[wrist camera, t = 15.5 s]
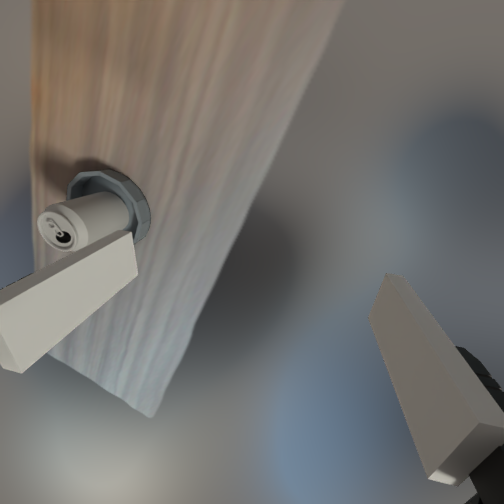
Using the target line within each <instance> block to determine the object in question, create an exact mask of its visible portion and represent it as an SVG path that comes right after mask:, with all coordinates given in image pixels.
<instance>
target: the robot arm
mask: <svg viewBox="0 0 504 504" xmlns="http://www.w3.org/2000/svg"><path fill="white" fill-rule="evenodd" d="M137 275H138V271H137V264H136V258H135V251H134V244H133V238H132V232H130V231H124V230H117V231H115V232H113V233H111V234H109V235H107V236H105V237H103V238H101V239H99V240H97V241H96V242H94V243H92V244H90V245H88V246H86V247H84V248H82V249H80V250H78V251H76V252H74V253H72V254H70V255H68V256H66V257H64V258H62V259H60V260H58V261H56V262H54V263H52V264H50V265H48V266H46V267H44V268H42V269H40V270H39V271H37V272H34V273H32V274H29V275H27V276H26V277H23V278H21V279H20V280H18V281H17V282H14V283H12V284H10V285H8V286H6V287H5V288H2V289H0V364H1V366H2V367H3V368H4V369H7V370H11V371H15V372H19V373H23V372H24V371H25V370H26V369H28V368H29V367H30V366H31V365H32V364H33V363H34V362H36V361H37V360H38V359H39V358H40V357H42V356H43V355H44V354H45V353H46V352H48V351H49V350H50V349H51V348H52V347H53V346H55V345H56V344H57V343H58V342H59V341H61V340H62V339H63V338H64V337H65V336H66V335H68V334H69V333H70V332H71V331H72V330H74V329H75V328H76V327H77V326H78V325H79V324H81V323H82V322H83V321H84V320H85V319H87V318H88V317H89V316H90V315H91V314H92V313H94V312H95V311H96V310H97V309H98V308H100V307H101V306H102V305H103V304H104V303H105V302H107V301H108V300H109V299H110V298H111V297H113V296H114V295H115V294H116V293H117V292H118V291H120V290H121V289H122V288H123V287H124V286H126V285H127V284H128V283H129V282H130V281H131V280H133V279H134V278H135V277H136V276H137ZM368 319H369V322H370V324H371V327H372V330H373V332H374V335H375V338H376V340H377V343H378V346H379V348H380V351H381V354H382V356H383V359H384V362H385V365H386V367H387V370H388V373H389V375H390V378H391V381H392V383H393V386H394V389H395V392H396V394H397V397H398V400H399V402H400V405H401V408H402V410H403V413H404V416H405V418H406V421H407V424H408V426H409V429H410V432H411V435H412V437H413V440H414V443H415V445H416V448H417V451H418V453H419V456H420V459H421V462H422V464H423V467H424V470H425V472H426V475H427V478H428V479H431V480H435V481H438V482H442V483H446V484H450V485H454V486H459V485H460V484H461V483H462V482H463V481H464V480H465V479H466V478H467V477H469V476H470V478H471V480H472V482H473V484H474V486H475V488H476V490H477V492H478V493H476V494H475V495H474V496H473V497H472V498H471V499H469V500H468V501H467V502H466V503H465V504H504V392H502V388H501V387H500V386H499V384H498V383H497V382H496V381H495V379H492V377H491V375H490V373H489V372H488V371H487V370H486V368H485V367H484V366H483V364H482V363H481V362H480V361H479V360H478V359H477V358H475V357H474V356H473V355H472V354H471V353H469V352H468V351H467V350H466V349H465V348H462V347H457V346H454V344H453V343H452V342H451V340H450V339H449V338H448V336H447V335H446V334H445V332H444V331H443V329H442V328H441V327H440V326H439V324H438V323H437V321H436V320H435V319H434V317H433V316H432V314H431V313H430V312H429V310H428V309H427V308H426V306H425V305H424V304H423V302H422V301H421V300H420V298H419V297H418V295H417V294H416V293H415V292H414V290H413V289H412V287H411V286H410V285H409V283H408V282H407V281H406V279H405V278H404V277H403V276H400V275H394V274H387V273H386V275H385V277H384V280H383V282H382V284H381V287H380V289H379V292H378V294H377V297H376V299H375V302H374V304H373V307H372V309H371V312H370V314H369V317H368Z"/></svg>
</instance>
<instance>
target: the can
mask: <svg viewBox="0 0 504 504" xmlns="http://www.w3.org/2000/svg"><path fill="white" fill-rule="evenodd" d="M128 222H129V212H128V210H127V207H126V205H125V204H124V202H123V201H122V200H121V199H120V198H119V197H118V196H117V195H115V194H113V193H111V192H106V191H104V192H99V193H95V194H91V195H87V196H83V197H79V198H75V199H72V200H68V201H64V202H60V203H56V204H52V205H49V206H48V207H47V208H46V209H45V211H44V212H42V213H41V214H40V215H39V217H38V219H37V226H38V230H39V232H40V234H41V236H42V238H43V239H44V240H45V241H46V242H47V243H48V244H49V245H50V246H52V247H53V248H55V249H57V250H59V251H64V252H67V251H78V250H80V249H82V248H84V247H86V246H88V245H90V244H92V243H94V242H96V241H97V240H99V239H101V238H103V237H105V236H107V235H109V234H111V233H113V232H115V231H117V230H122V229H124V228H126V226H127V225H128Z"/></svg>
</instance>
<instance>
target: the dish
mask: <svg viewBox="0 0 504 504" xmlns="http://www.w3.org/2000/svg"><path fill="white" fill-rule="evenodd" d="M104 191H106V192H111V193H113V194H115V195H117V196H118V197H119V198H120V199H121V200H122V201H123V202H124V204H125V205H126V207H127V210H128V212H129V222H128V225H127V226H126V228H124V229H122V230H124V231H130V232H132V238H133V244H136V243H137V242H139V241H140V240H142V239H143V238H144V237H145V236H146V234H147V232H148V230H149V228H150V223H151V215H150V209H149V205H148V203H147V200H146V198H145V196H144V195H143V193H142V192H141V190H140V189H139V188H138V186H137V185H136V184H135V183H134V182H133V181H132V180H130V179H129V178H128V177H126V176H124V175H123V174H121V173H119V172H116V171H112V170H110V169H109V170H93V171H85V172H79V173H78V175H77V176H76V177H75V178H74V179H73V180H72V181H71V182H70V183H69V184H68V187H67V199H66V201H68V200H72V199H75V198H79V197H83V196H87V195H91V194H95V193H99V192H104Z"/></svg>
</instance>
